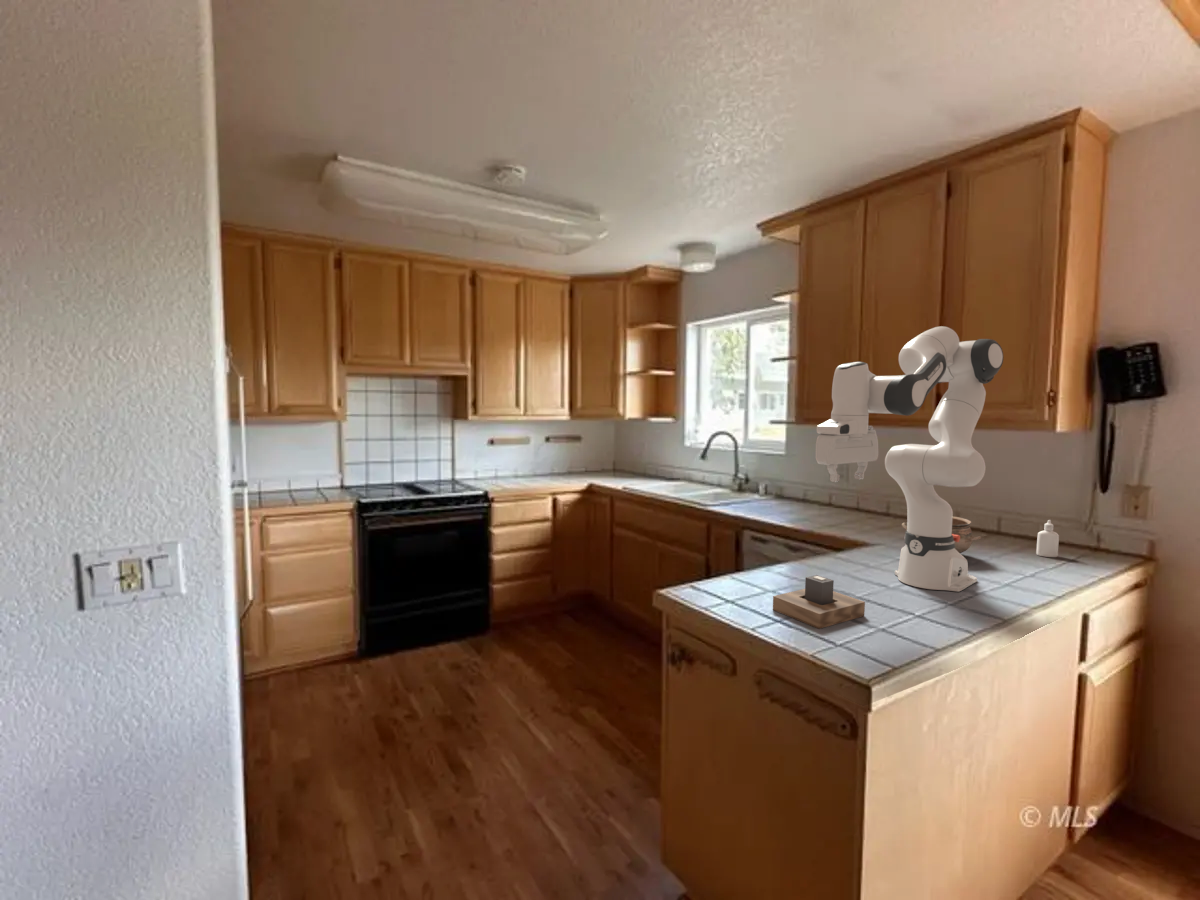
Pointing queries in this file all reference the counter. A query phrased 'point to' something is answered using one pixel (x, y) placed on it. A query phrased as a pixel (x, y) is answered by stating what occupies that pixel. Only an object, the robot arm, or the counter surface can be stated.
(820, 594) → the block
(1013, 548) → the counter surface
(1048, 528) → the eye dropper bottle
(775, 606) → the dock
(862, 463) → the robot arm
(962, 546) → the cooking pot
